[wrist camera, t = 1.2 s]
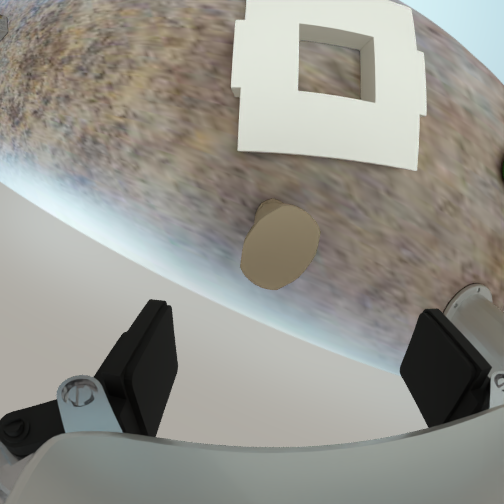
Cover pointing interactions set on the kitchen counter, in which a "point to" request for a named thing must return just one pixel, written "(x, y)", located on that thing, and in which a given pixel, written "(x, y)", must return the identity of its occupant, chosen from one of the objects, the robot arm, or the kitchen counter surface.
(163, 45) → the kitchen counter surface
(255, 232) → the handle
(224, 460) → the robot arm
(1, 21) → the coffee box
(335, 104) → the socket block
